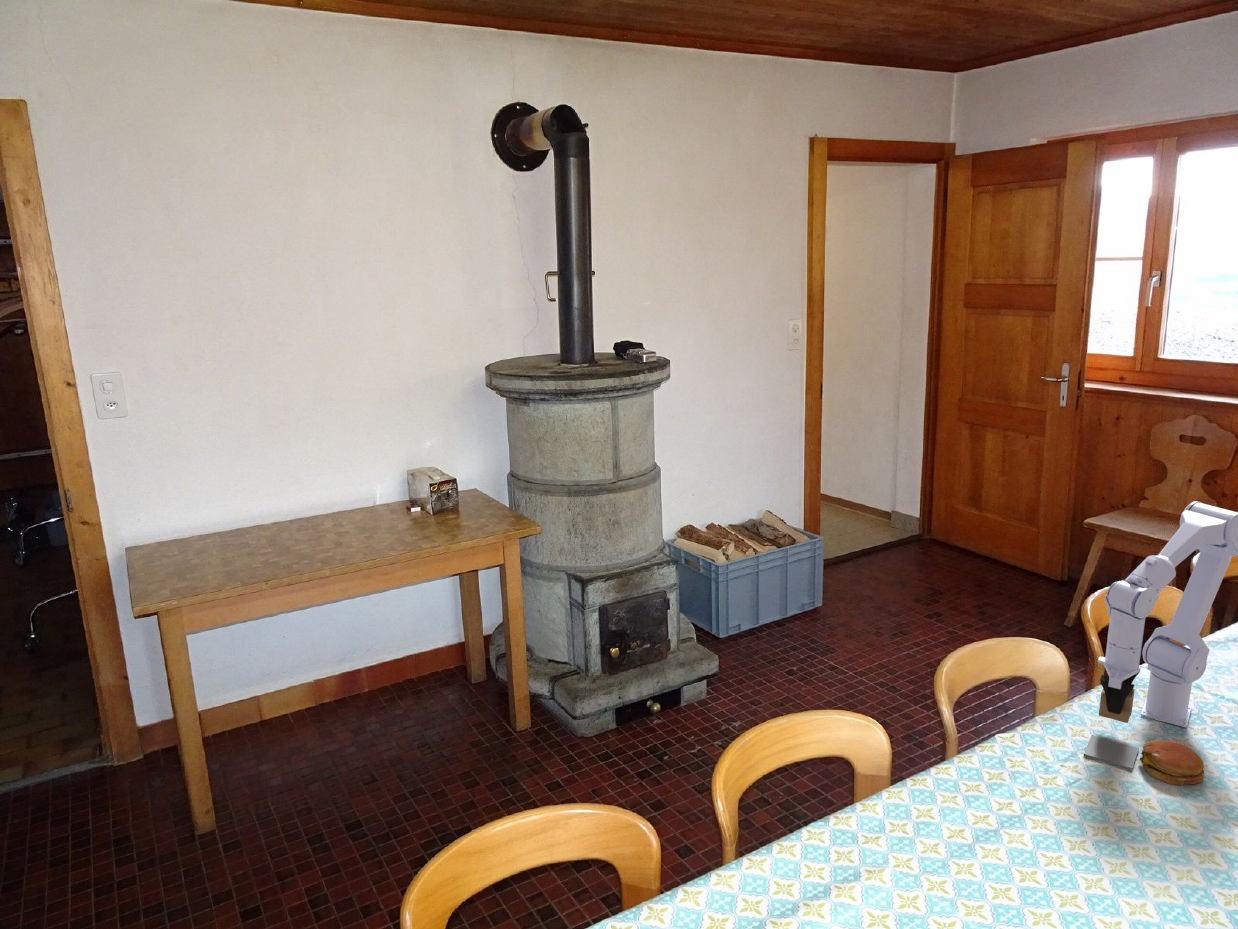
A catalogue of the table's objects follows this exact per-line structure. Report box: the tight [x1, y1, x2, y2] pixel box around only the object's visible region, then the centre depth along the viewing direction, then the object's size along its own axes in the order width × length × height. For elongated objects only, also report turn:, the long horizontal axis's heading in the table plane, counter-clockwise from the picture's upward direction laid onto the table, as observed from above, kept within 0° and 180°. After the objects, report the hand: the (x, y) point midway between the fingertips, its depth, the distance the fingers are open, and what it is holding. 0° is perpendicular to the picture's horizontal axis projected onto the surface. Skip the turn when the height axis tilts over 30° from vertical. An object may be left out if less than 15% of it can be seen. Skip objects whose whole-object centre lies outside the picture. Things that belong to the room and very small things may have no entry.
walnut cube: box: [1098, 688, 1135, 724], centre depth 170 cm, size 5×5×5 cm
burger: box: [1139, 739, 1205, 786], centre depth 159 cm, size 10×9×5 cm
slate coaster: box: [1083, 734, 1140, 772], centre depth 165 cm, size 8×8×1 cm
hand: (1116, 706), depth 170 cm, fingers closed on walnut cube, 5 cm apart
